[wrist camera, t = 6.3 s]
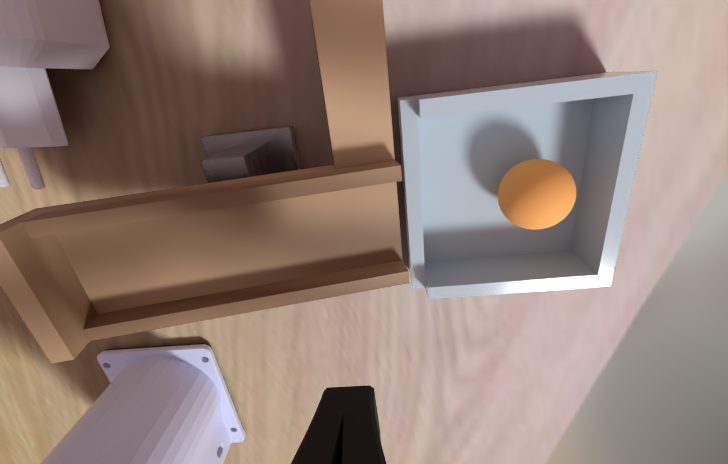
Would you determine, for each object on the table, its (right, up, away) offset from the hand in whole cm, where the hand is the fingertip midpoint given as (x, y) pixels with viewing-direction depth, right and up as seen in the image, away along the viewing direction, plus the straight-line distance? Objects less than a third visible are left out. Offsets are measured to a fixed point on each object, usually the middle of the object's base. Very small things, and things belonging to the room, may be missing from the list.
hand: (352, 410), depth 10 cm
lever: (-6, +9, +3) cm, 11 cm away
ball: (+8, +7, +6) cm, 12 cm away
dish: (+7, +8, +8) cm, 13 cm away
